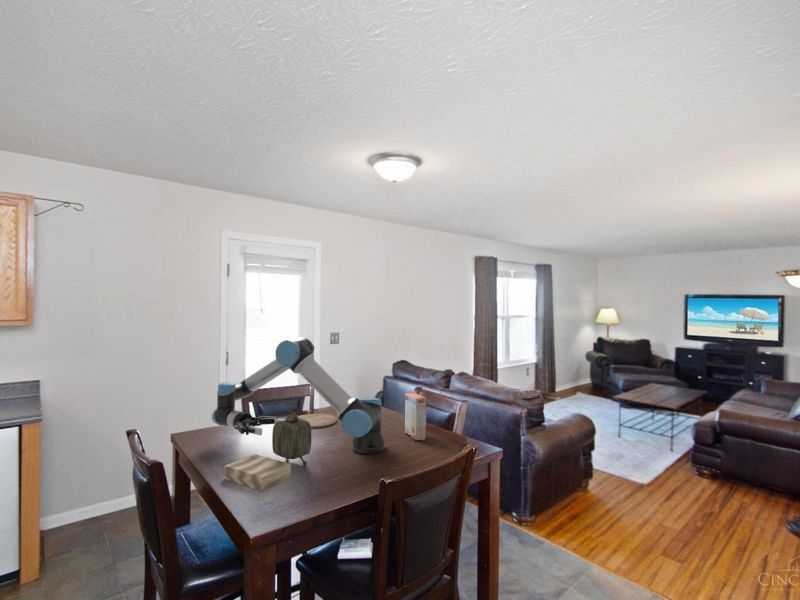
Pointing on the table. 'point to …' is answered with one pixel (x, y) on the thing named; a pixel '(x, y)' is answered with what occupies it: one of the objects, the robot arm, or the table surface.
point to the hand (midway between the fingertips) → (274, 427)
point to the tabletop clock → (292, 437)
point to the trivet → (319, 420)
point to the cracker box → (415, 415)
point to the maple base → (257, 472)
